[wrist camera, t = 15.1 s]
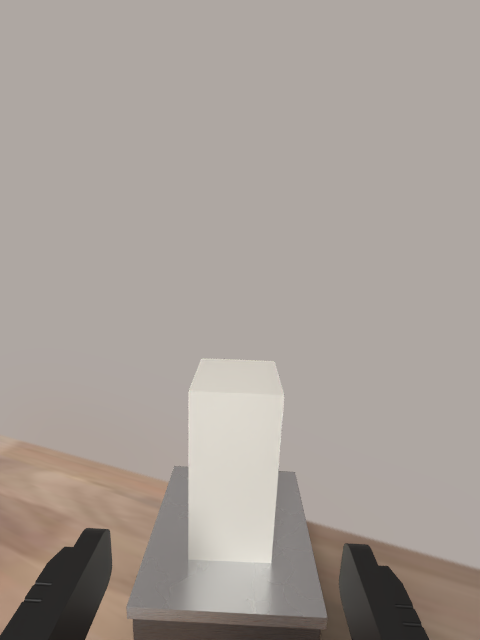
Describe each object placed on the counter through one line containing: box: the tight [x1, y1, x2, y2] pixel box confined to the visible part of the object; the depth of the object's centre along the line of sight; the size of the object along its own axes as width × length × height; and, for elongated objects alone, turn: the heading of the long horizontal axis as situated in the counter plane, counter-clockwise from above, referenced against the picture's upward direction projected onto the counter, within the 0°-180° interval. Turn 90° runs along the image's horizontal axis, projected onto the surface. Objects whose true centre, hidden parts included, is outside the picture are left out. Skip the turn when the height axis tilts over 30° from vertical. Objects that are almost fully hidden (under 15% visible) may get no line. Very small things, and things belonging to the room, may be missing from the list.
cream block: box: [188, 358, 284, 563], centre depth 19 cm, size 5×5×11 cm
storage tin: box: [127, 466, 328, 640], centre depth 21 cm, size 10×10×10 cm
